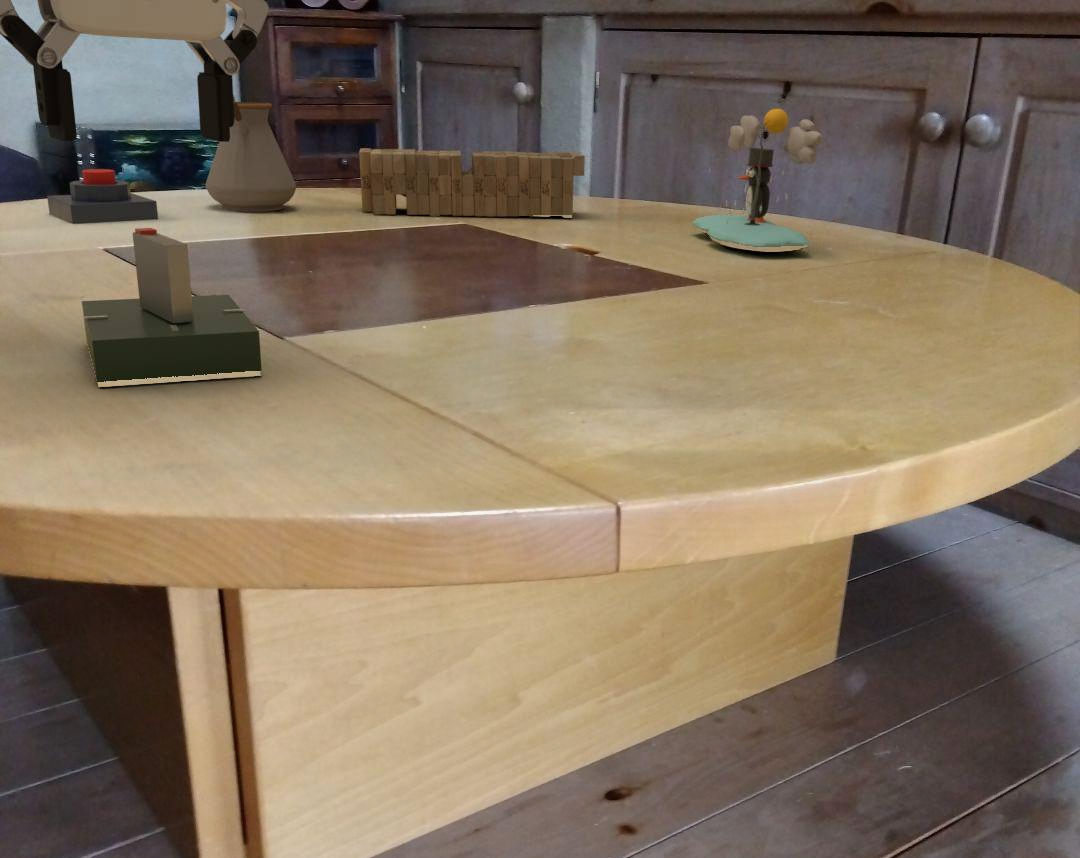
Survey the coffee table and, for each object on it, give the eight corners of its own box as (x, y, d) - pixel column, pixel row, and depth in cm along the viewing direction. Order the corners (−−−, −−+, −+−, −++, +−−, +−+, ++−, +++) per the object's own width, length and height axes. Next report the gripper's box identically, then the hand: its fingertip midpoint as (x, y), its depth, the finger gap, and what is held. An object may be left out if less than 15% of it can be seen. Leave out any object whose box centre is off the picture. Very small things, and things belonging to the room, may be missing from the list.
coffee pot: (215, 201, 152) (206, 82, 146) (302, 203, 153) (296, 85, 147) (183, 224, 132) (171, 87, 126) (282, 226, 133) (275, 90, 127)
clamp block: (96, 388, 69) (89, 337, 68) (85, 343, 79) (79, 298, 78) (263, 376, 73) (260, 328, 72) (233, 335, 83) (230, 292, 82)
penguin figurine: (685, 231, 142) (696, 102, 136) (767, 233, 143) (781, 105, 137) (726, 258, 123) (740, 110, 117) (819, 260, 125) (839, 114, 118)
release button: (89, 188, 131) (87, 172, 130) (79, 184, 134) (77, 169, 133) (120, 187, 133) (118, 171, 133) (110, 183, 136) (108, 168, 135)
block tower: (361, 221, 145) (584, 218, 148) (357, 153, 142) (586, 151, 145) (364, 213, 153) (576, 210, 155) (360, 147, 149) (577, 146, 152)
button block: (72, 224, 129) (68, 188, 127) (49, 214, 135) (44, 180, 134) (158, 219, 135) (155, 185, 133) (132, 210, 141) (128, 177, 139)
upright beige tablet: (194, 322, 73) (187, 239, 71) (173, 324, 72) (165, 241, 70) (160, 305, 77) (152, 227, 75) (139, 307, 76) (131, 228, 74)
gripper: (-31, -216, 56) (13, 146, 63) (287, -161, 66) (295, 145, 73) (-67, -200, 61) (-22, 133, 68) (232, -151, 71) (245, 134, 78)
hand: (142, 139), depth 70 cm, fingers open, 9 cm apart
